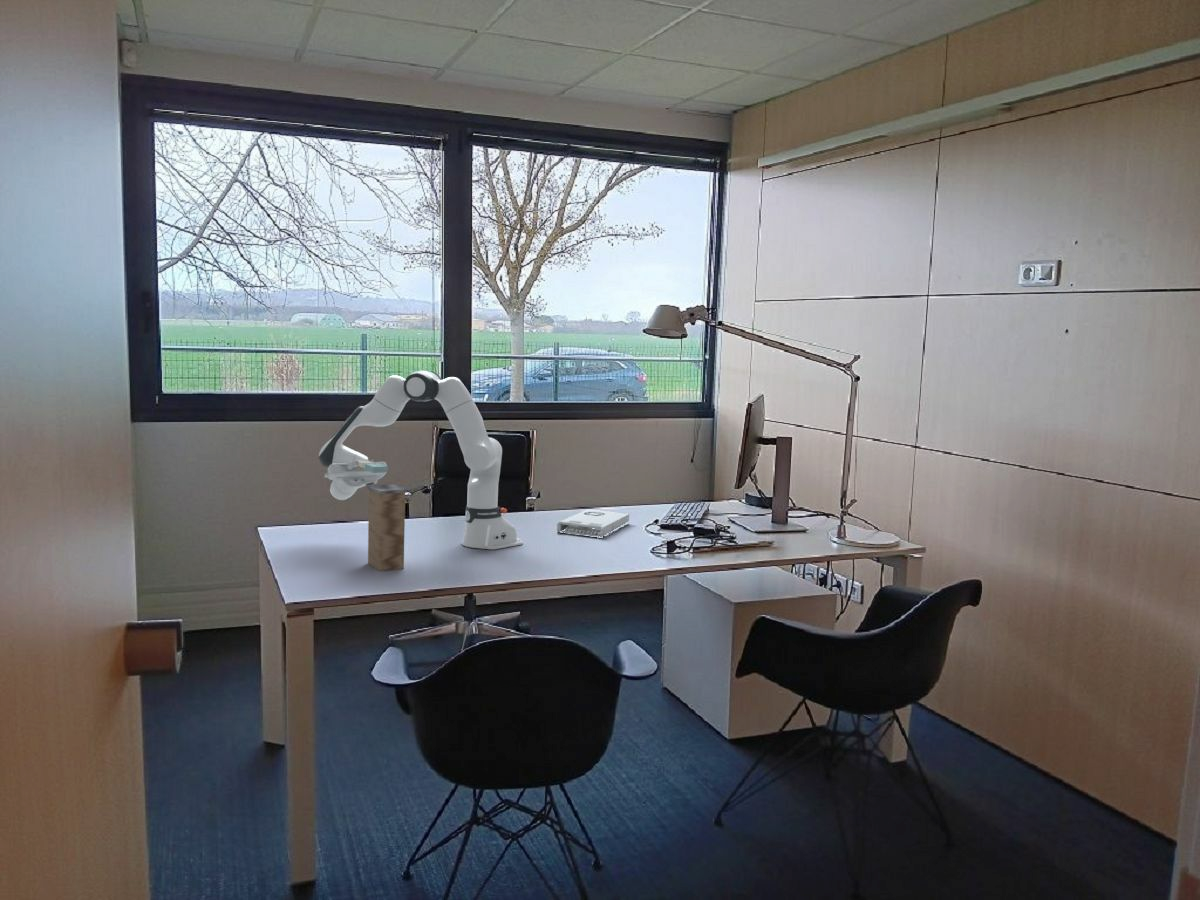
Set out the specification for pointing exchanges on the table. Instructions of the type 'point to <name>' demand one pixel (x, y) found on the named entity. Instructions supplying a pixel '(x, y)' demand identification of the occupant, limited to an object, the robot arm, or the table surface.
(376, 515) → the walnut stand
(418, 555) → the table surface
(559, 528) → the power supply unit
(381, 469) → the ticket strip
